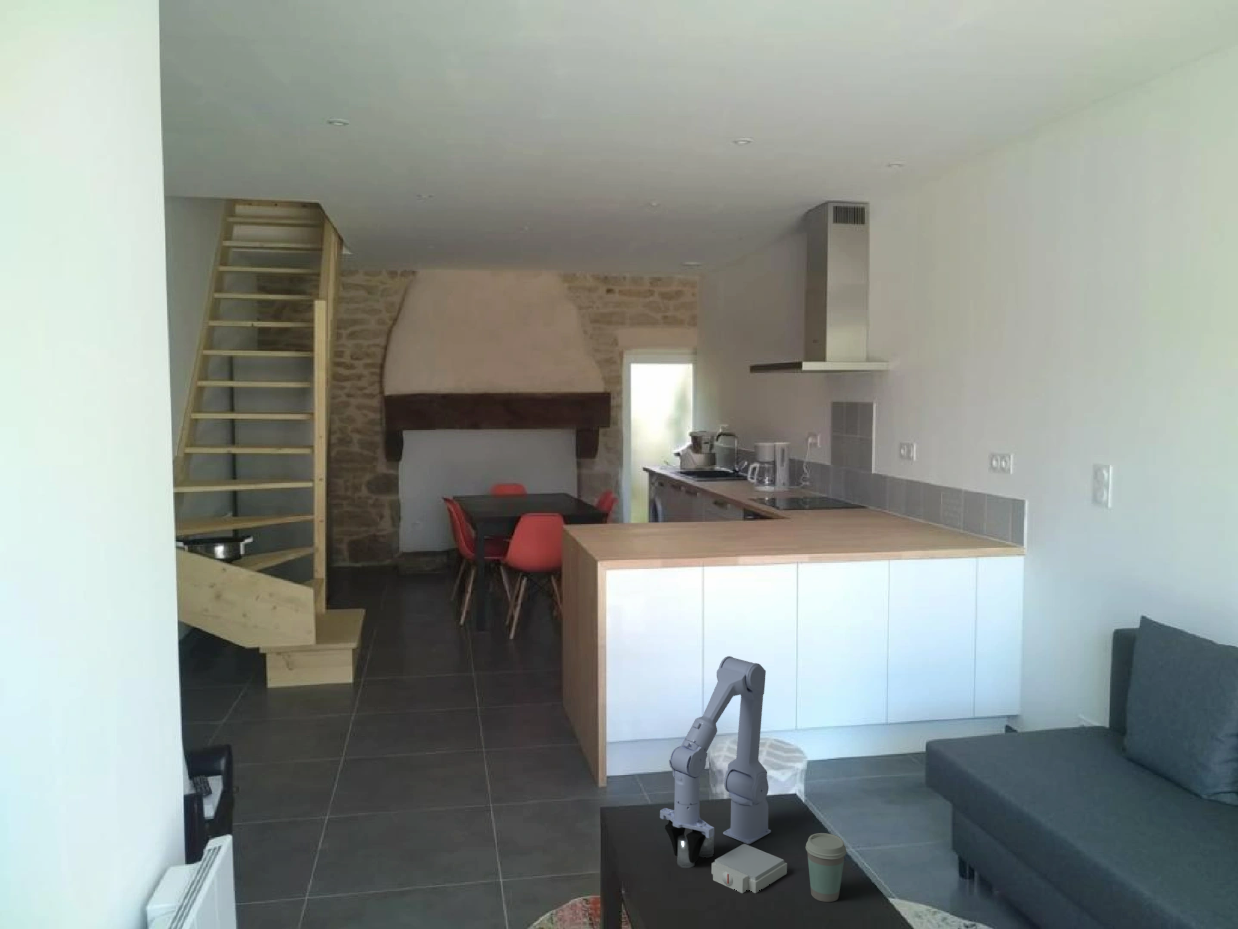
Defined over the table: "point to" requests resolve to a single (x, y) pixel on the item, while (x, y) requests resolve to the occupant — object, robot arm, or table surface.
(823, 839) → the coffee cup
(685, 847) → the cylinder
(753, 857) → the grey flat ridged box
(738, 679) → the robot arm
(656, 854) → the table surface
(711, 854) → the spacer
